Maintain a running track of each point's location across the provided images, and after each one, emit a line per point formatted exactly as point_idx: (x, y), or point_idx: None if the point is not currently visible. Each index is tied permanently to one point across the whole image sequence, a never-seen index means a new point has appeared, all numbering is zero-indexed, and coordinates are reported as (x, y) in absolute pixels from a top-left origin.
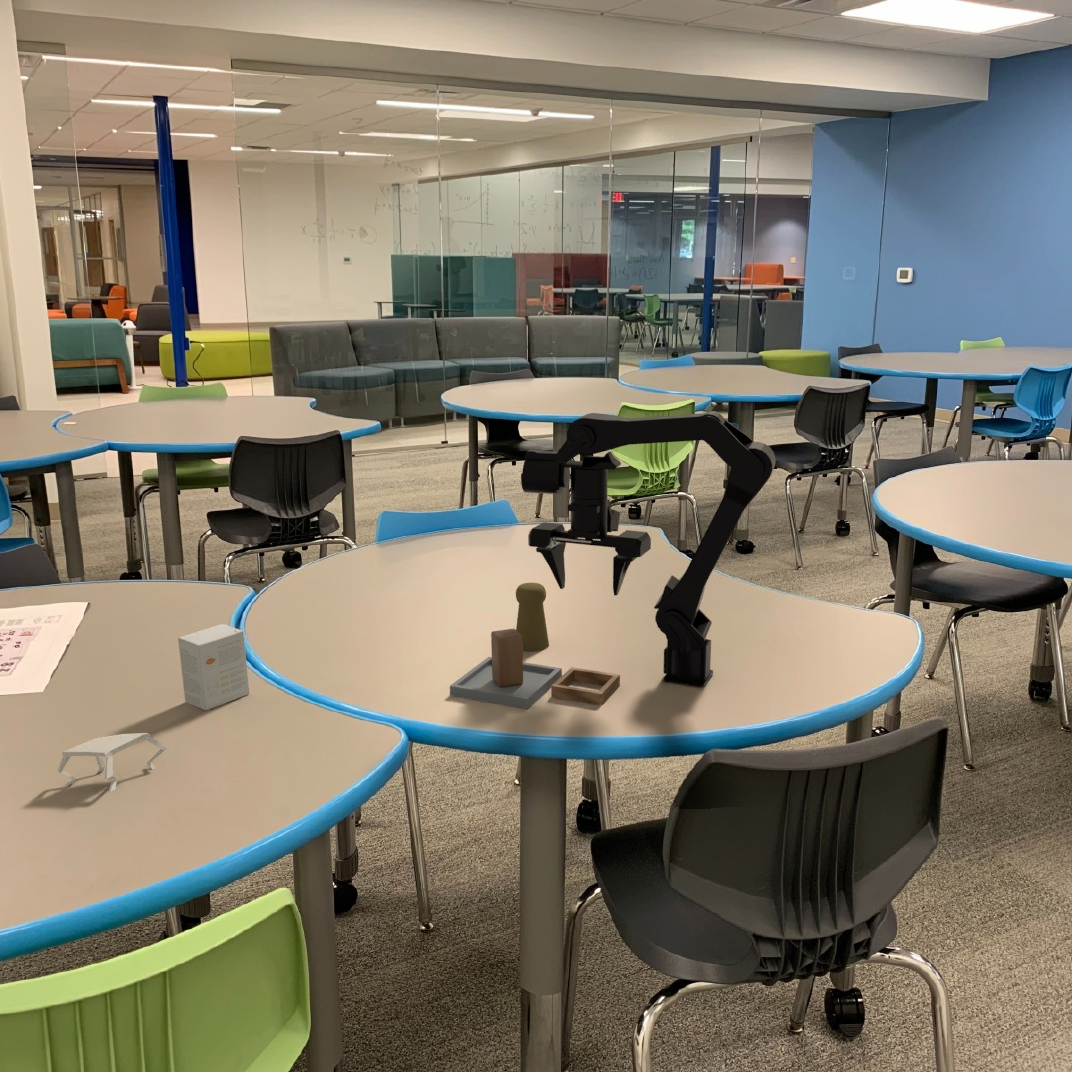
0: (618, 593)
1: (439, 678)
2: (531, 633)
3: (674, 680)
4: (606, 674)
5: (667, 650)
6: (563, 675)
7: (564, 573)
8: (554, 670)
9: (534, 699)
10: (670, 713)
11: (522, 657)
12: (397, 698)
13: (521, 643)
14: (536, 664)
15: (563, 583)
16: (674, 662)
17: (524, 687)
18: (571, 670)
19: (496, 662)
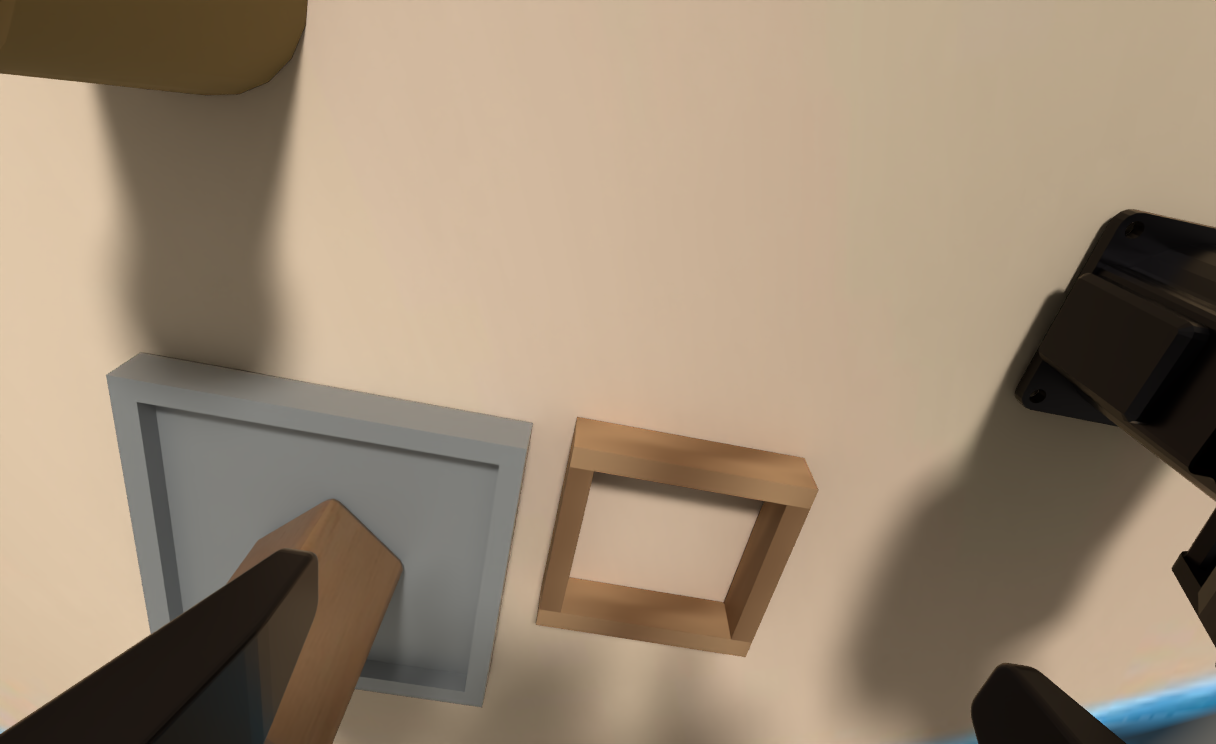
0: (1032, 668)
1: (30, 506)
2: (165, 82)
3: (1072, 415)
4: (753, 496)
5: (1144, 437)
6: (559, 535)
7: (199, 708)
8: (500, 476)
9: (493, 645)
10: (986, 635)
11: (363, 666)
12: (25, 664)
13: (332, 737)
14: (390, 427)
15: (289, 630)
16: (1135, 437)
17: (422, 585)
18: (582, 480)
19: None
